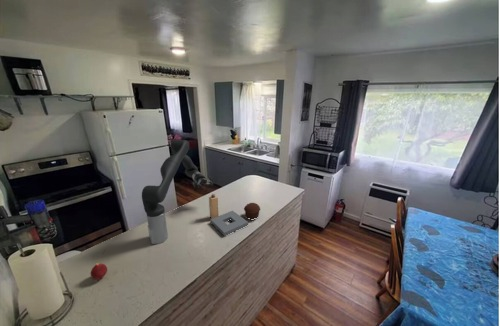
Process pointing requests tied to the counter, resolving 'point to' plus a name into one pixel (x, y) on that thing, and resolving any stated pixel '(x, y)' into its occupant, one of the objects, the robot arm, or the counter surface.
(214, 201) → the plug
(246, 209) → the muffin
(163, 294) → the counter surface
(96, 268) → the onion
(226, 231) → the socket
